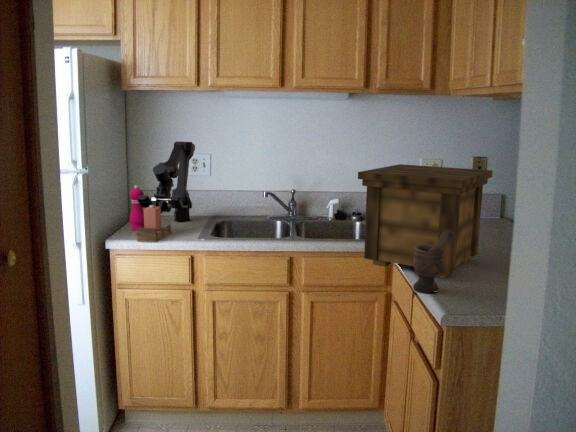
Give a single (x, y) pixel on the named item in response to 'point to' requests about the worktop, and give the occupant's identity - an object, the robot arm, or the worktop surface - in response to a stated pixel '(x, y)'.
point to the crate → (422, 212)
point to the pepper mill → (136, 209)
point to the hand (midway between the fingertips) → (155, 218)
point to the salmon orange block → (152, 217)
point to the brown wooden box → (152, 234)
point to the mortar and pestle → (429, 263)
